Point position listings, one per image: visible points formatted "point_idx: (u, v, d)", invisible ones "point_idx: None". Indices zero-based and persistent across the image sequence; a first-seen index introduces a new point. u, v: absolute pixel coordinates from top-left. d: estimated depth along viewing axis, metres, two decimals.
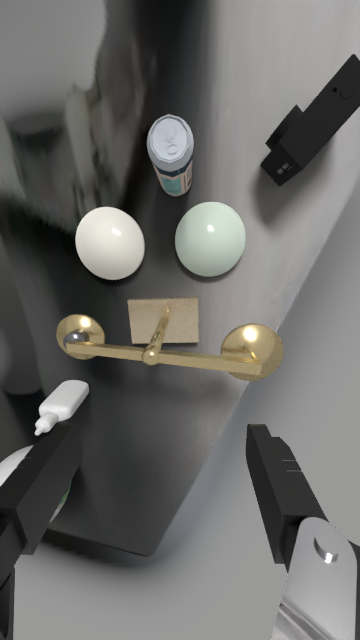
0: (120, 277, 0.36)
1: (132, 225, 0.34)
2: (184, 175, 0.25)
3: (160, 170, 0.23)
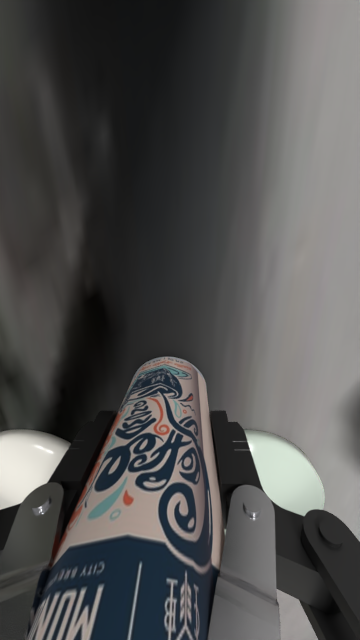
0: None
1: None
2: None
3: None
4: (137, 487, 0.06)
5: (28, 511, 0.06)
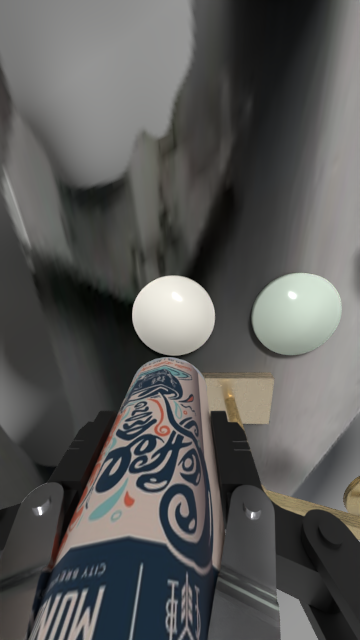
0: (182, 353, 0.30)
1: (203, 297, 0.28)
2: None
3: None
4: (138, 488, 0.06)
5: (28, 511, 0.06)
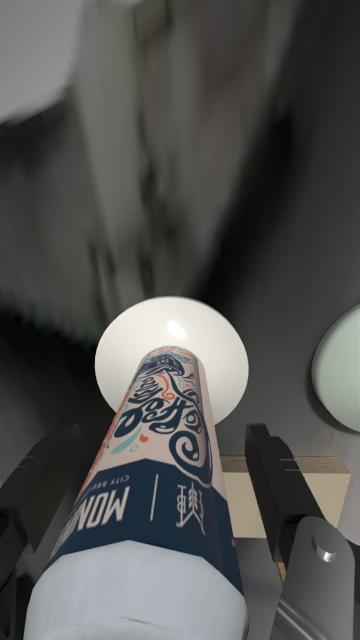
0: None
1: (227, 337, 0.15)
2: None
3: None
4: (151, 431, 0.07)
5: None
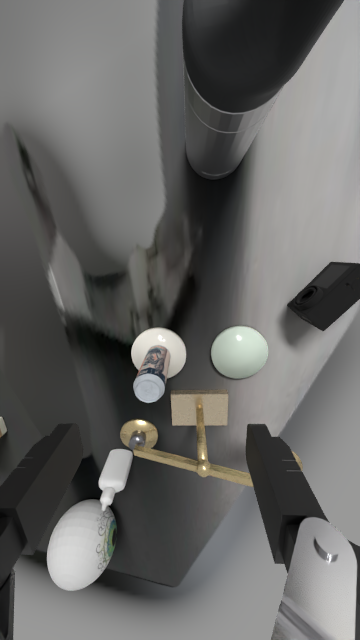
0: None
1: (177, 342, 0.42)
2: None
3: None
4: (151, 364, 0.35)
5: None
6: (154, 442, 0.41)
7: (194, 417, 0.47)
